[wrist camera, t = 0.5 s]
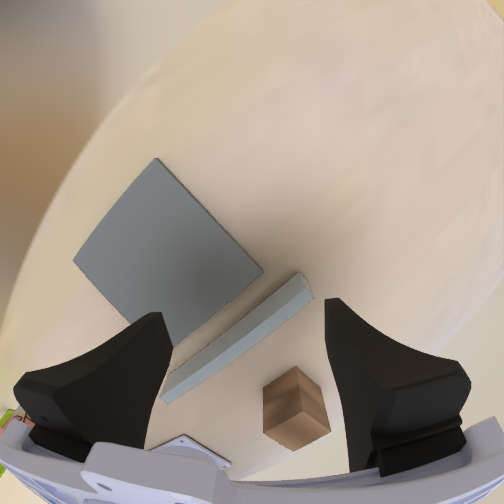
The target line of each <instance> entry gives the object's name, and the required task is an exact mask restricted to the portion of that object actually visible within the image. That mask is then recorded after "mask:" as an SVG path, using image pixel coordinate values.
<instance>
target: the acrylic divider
mask: <svg viewBox="0 0 504 504" xmlns="http://www.w3.org/2000/svg"><path fill="white" fill-rule="evenodd" d="M313 299H314V296H313V293H312V291H311V289H310V286H309V284H308V282H307V280H306V279H305V278H304V277H303V275H302V274H301V273H300V272H298V273H297V274H296V275H295V276H293V277H292V278H291V279H290V280H289V281H287V282H286V283H285V284H284V285H283V286H281V287H280V288H279V289H278V290H277V291H275V292H274V293H273V294H272V295H270V296H269V297H268V298H267V299H266V300H264V301H263V302H262V303H261V304H259V305H258V306H257V307H256V308H255V309H253V310H252V311H251V312H250V313H248V314H247V315H246V316H245V317H243V318H242V319H241V320H240V321H238V322H237V323H236V324H235V325H233V326H232V327H231V328H229V329H228V330H227V331H226V332H224V333H223V334H222V335H221V336H219V337H218V338H217V339H215V340H214V341H213V342H212V343H210V344H209V345H208V346H206V347H205V348H204V349H202V350H201V351H200V352H198V353H197V354H196V355H195V356H193V357H192V358H191V359H189V360H188V361H187V362H185V363H184V364H183V365H181V366H180V367H179V368H177V369H176V370H175V371H173V372H172V373H170V374H169V376H168V378H167V380H166V383H165V385H164V387H163V390H162V392H161V394H160V397H159V398H160V399H162V400H163V401H164V402H166V403H167V404H169V403H170V402H172V401H173V400H175V399H176V398H178V397H180V396H181V395H183V394H184V393H186V392H187V391H189V390H190V389H192V388H193V387H195V386H196V385H198V384H199V383H201V382H202V381H204V380H205V379H207V378H208V377H210V376H211V375H213V374H214V373H215V372H217V371H218V370H220V369H221V368H223V367H224V366H225V365H227V364H228V363H230V362H231V361H233V360H234V359H235V358H237V357H238V356H240V355H241V354H242V353H244V352H245V351H246V350H248V349H249V348H251V347H252V346H253V345H255V344H256V343H257V342H259V341H260V340H261V339H263V338H264V337H265V336H267V335H268V334H269V333H271V332H272V331H273V330H275V329H276V328H277V327H278V326H280V325H281V324H282V323H284V322H285V321H286V320H287V319H289V318H290V317H291V316H293V315H294V314H295V313H296V312H298V311H299V310H300V309H301V308H303V307H304V306H305V305H306V304H308V303H309V302H310V301H311V300H313Z"/></svg>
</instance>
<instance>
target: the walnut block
mask: <svg viewBox="0 0 504 504" xmlns="http://www.w3.org/2000/svg"><path fill="white" fill-rule="evenodd" d="M330 432H331V428H330V424H329V420H328V416H327V412H326V408H325V404H324V400H323V396H322V392H321V388H320V387H319V386H318V385H317V384H315V383H314V382H313V381H312V380H311V379H310V378H309V377H307V376H306V375H305V374H304V373H303V372H302V371H301V370H300V369H298V368H297V367H296V366H295V367H294V368H292V369H291V370H289V371H288V372H287V373H285V374H284V375H282V376H281V377H279V378H278V379H276V380H275V381H273V382H271V383H270V384H268V385H267V386H265V387H264V388H263V433H264V434H265V435H267V436H269V437H270V438H272V439H273V440H275V441H276V442H278V443H280V444H281V445H283V446H285V447H286V448H288V449H290V450H291V451H293V452H294V451H296V450H298V449H300V448H302V447H304V446H306V445H308V444H309V443H311V442H313V441H315V440H317V439H319V438H321V437H322V436H324V435H326V434H328V433H330Z"/></svg>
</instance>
